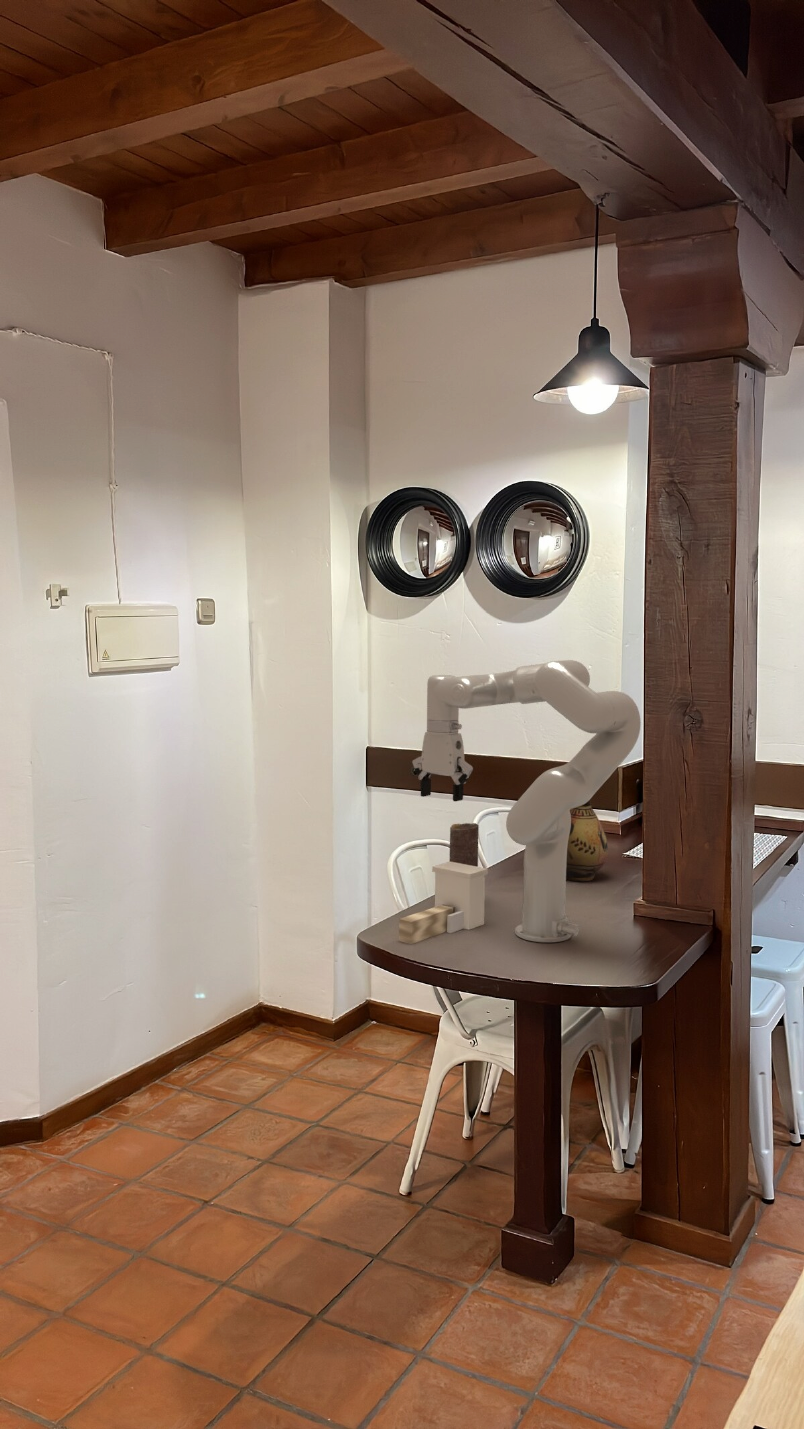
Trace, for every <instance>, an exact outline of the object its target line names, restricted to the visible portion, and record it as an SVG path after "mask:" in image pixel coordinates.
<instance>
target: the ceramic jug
mask: <svg viewBox="0 0 804 1429" xmlns="http://www.w3.org/2000/svg"><path fill="white" fill-rule="evenodd" d="M569 811H570V814H571V828H570V834H569V839H568V846H567V861H566V880H568V881H570V882H583V881H584V882H585V881H586V882H589V881H592V880H594V878H595V876H596V874H597V873H598V871H600V869H601V868H603V866H604V865H605V863H606V860H607V857H608V852H609V850H608V849H609V848H608V840H607V839H608V838H607V835H606V832H605V829H604V827H603V825H602V823H601V821H600V819H599V817H598V815H597V814H596V812H595V811H594V809H593V808H592V805H591V803H590V800H589V801H588V802H587V803H585V804H584V805H581V806H579V807H576V808H573V809H570V810H569Z"/></svg>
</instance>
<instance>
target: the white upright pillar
mask: <svg viewBox="0 0 804 1429" xmlns="http://www.w3.org/2000/svg"><path fill="white" fill-rule="evenodd" d="M431 870H432V871H431V872H433V873H434V874H435V876H434V907H436V906H439V905H442V904H444V905H448V906H453V907H455V913H453V914H450V915H447V931H446V932H447V933H448V934H453V933H455V932H458V931H460V930H473V929H475V928H478V927H480V926H483V925H484V924H485V892H486V889H485V887H486V884H485V882H486V875H489V868H487V867H480V866H478V867H476V866H471V865H466V864H461V863H455V862H449V861H447V862H444V863H439V864H437V865H434V866H432V867H431Z"/></svg>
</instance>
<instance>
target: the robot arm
mask: <svg viewBox="0 0 804 1429" xmlns="http://www.w3.org/2000/svg"><path fill="white" fill-rule="evenodd" d="M590 681H591V675H590V672H589V670H588V668H587V667H586V666H585V665H584V663H582V662H579V661H577V660H572V659H566V660H552V661H549V662H545V663H537V664H531V665H530V664H528V665H522V666H518V667H516V669H514V670H511V671H502V672H496V673H489V674H475V675H474V674H473V675H464V676H455V675H450V674H449V675H448V674H437V675H436V674H434V675H431V676H429V677H428V679H427V682H426V683H427V685H426V686H427V688H426V689H427V690H426V692H427V693H426V694H427V695H426V731H424V735H423V740H422V749H421V756H417V757H416V758H415V759H413V760H412V762H411V763H412V765H413V769H414V772H415V773H416V775H417V776H418V780H420V797H428V796H431V795H432V779H431V778H430V777H431V775H438V776H446V777H447V776H448V777H451V779H452V780H453V782H454V784H453V785H452V801H453V802H460V801H463V799H464V784H466V783H467V781H468V780H469V779H470V778H471V774H472V772H473V770H474V767H473V766H472V765H471V764H470V763H468V762H467V761H466V760H465V747H464V740H463V737H462V736H463V735H462V733H459V730H461V729H462V728H463V725H462V724H461V723H459V722H460V721H459V715H460V714H459V713H460V712H459V710H460V709H462V710H463V709H464V710H465V709H473V708H481V707H489V706H490V707H491V706H496V705H497V706H498V705H505V704H506V705H507V704H515V703H517V704H518V703H520V704H522V705H528V704H534V703H536V704H537V703H545V702H546V703H547V704H548V705H549V706H550V707H552V708H553V709H554V710H556V711H557V712H558V713H559V714H560V715H561V716H563V717H564V718H565V719H567V720H568V721H569V722H570V723H571V724H573V725H574V726H575V727H576V728H578V730H581V731H583V732H585V733H589V734H595V735H594V736H592V737H591V738H590V739H589V740H588V741H587V742H585V744H584V745H583V746H582V747H581V748H580V750H579V751H578V752H577V753H576V754H575V755H574V756H573V757H572V759H571V760H570V761H568V762H567V763H565V764H563V765H560V766H556V767H553V768H550V769H548V770H545V771H544V772H543V773H541V775H539V776H538V777H537V778H536V779H535V780H534V781H533V783H531V785H530V786H529V787H528V788H527V789H526V791H525V792H524V793H523V794H522V795H521V796H520V797H519V798H518V800H517V801H516V802H515V803H514V804H513V806H512V807H511V808H510V810H509V812H508V814H507V817H506V820H505V822H506V823H505V827H506V831H507V834H508V835H509V838H511V840H512V841H514V842H515V843H517V844H519V845H522V846H525V848H524V854H523V881H522V882H523V883H522V884H523V887H522V888H523V892H522V923H521V924H519V925H517V926H516V927H515V932H514V933H515V935H516V936H517V937H519V938H520V939H523V940H527V941H528V942H529V941H530V942H537V943H558V942H565V941H567V940H570V939H571V937H572V936H575V937H576V936H578V934H579V930H580V927H579V924H575V923H571V922H570V916H569V915H568V916H567V915H566V889H567V888H566V886H567V884H566V883H567V881H566V880H567V879H566V861H567V846H568V839H569V834H570V828H571V814H570V811H569V810H570V809H573V808H576V807H579V806H581V805H584V804H585V803H587V802H588V801H589V802H590V800H591V799H592V798H593V796H594V795H595V794H596V793H597V791H599V789H600V788H601V787H602V786H603V785H604V783H605V782H606V781H607V780H608V779H609V778H610V777H611V776H612V774H613V773H615V771H616V770H617V768H618V767H619V766H620V765H622V763H623V762H624V760H625V759H626V758H628V756H629V755H630V753H631V752H632V750H633V749H634V747H635V745H636V743H637V742H638V739H639V737H640V731H641V725H642V724H641V715H640V711H639V707H638V706H637V704H636V702H635V701H634V699H633V698H632V697H631V696H630V695H628V694H627V693H625V692H621V691H618V690H608V691H601V692H599V691H598V692H596V691H594V690H593V689H592V688H590V687H589V685H590V684H591V683H590Z"/></svg>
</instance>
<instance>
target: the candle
mask: <svg viewBox="0 0 804 1429" xmlns="http://www.w3.org/2000/svg"><path fill="white" fill-rule="evenodd" d="M479 828H480V826H479V824H478V823H476V822H474V823H469V822H468V823H467V822H465V823H464V822H463V823H453V824H452V825H451V826H450V828H449V833H450V834H449V861H448V862H455V863H461V864H466V865H471V866H476V867H479Z"/></svg>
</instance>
